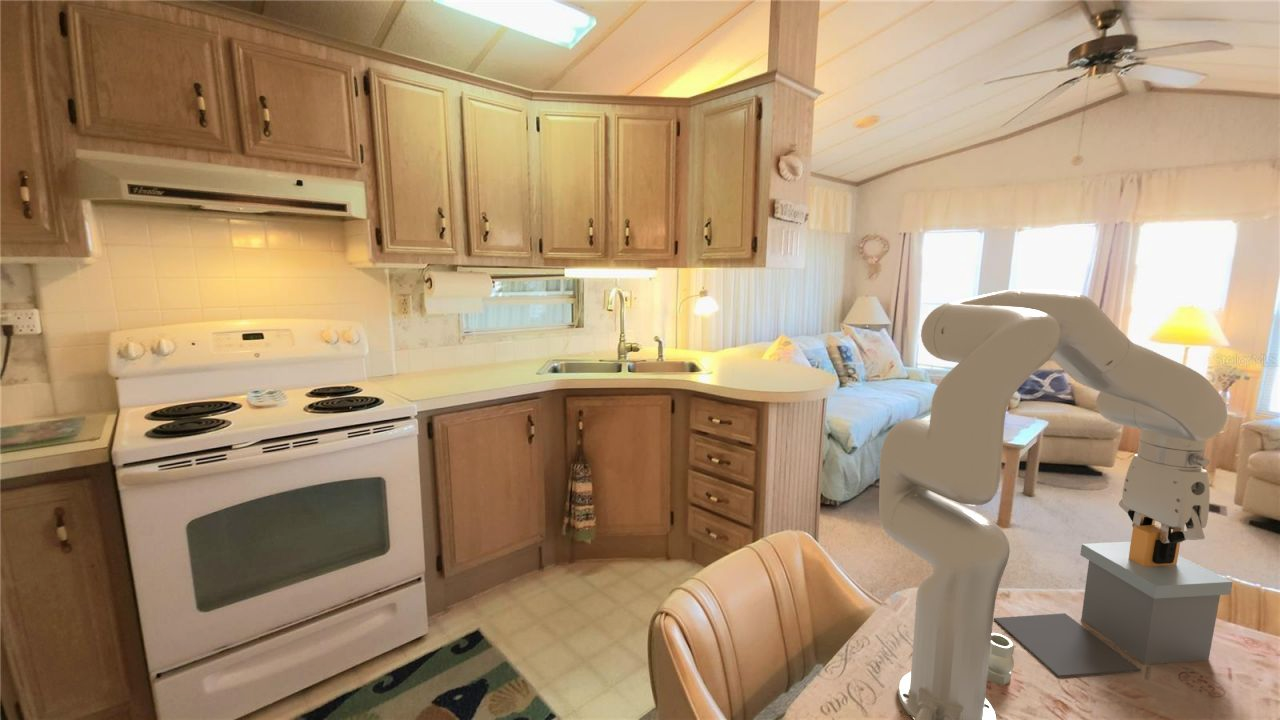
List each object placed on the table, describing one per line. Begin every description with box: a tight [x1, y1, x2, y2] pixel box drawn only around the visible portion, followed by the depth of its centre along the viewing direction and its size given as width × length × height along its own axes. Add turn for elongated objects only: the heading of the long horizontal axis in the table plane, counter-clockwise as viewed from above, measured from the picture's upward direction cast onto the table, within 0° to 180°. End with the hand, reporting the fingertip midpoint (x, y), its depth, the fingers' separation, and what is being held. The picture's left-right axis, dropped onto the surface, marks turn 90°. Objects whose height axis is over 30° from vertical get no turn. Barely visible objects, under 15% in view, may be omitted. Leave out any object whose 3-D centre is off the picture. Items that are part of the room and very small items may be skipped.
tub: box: [1081, 560, 1221, 666], centre depth 90 cm, size 11×11×12 cm
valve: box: [987, 632, 1015, 686], centre depth 87 cm, size 7×7×12 cm
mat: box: [993, 613, 1142, 678], centre depth 90 cm, size 14×14×1 cm
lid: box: [1079, 524, 1233, 599], centre depth 88 cm, size 13×13×8 cm
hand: (1152, 556), depth 88 cm, fingers closed on lid, 2 cm apart
